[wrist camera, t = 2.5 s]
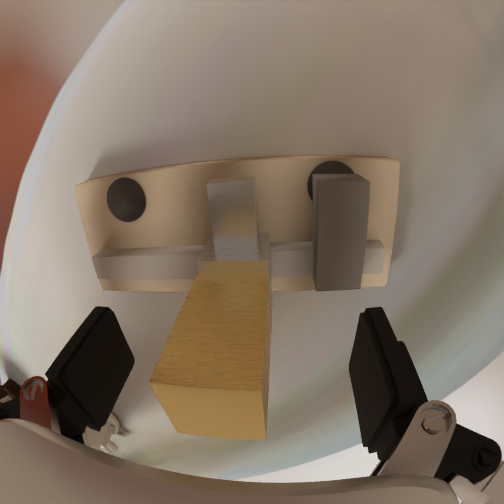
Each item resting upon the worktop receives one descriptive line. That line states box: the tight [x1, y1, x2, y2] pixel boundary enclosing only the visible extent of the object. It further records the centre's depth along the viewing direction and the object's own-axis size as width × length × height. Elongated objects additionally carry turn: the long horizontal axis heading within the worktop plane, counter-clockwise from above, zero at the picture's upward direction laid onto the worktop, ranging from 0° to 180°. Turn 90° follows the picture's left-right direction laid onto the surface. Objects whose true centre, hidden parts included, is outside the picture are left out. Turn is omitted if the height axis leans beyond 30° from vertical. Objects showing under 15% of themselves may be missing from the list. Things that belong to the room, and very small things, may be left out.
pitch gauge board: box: [75, 156, 400, 292], centre depth 15 cm, size 20×8×4 cm, turn 94°
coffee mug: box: [0, 379, 21, 404], centre depth 31 cm, size 12×9×10 cm
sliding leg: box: [149, 176, 272, 440], centre depth 11 cm, size 3×7×10 cm, turn 4°
